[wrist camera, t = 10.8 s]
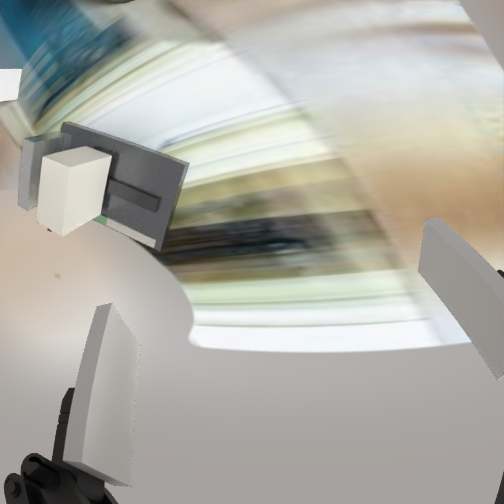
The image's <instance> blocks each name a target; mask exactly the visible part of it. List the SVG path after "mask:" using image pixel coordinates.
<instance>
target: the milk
mask: <svg viewBox="0 0 504 504" xmlns="http://www.w3.org/2000/svg"><path fill="white" fill-rule="evenodd" d="M21 72H22V69H0V101H9V100H17V99H18V92H19V85H20V78H21Z"/></svg>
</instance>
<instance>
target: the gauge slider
mask: <svg viewBox="0 0 504 504" xmlns="http://www.w3.org/2000/svg"><path fill="white" fill-rule="evenodd" d="M111 158H112V155H109V154H106V153H103V152H101V151H98V150H95V149H93V148H90V147H87V146H84V147H79V148H75V149H70V150H66V151H62V152H58V153H54V154H50V155H46V156H43V159H42V167H41V175H40V185H39V196H38V213H37V222H38V223H39V224H41V225H43V226H44V227H46V228H48V231H50V232H51V231H53V232H55V233H57V234H58V235H60V236H64V235H66V234H67V233H69V232H71V231H72V230H74V229H76V228H78V227H79V226H81V225H82V224H85V223H86V222H88V221H90V220H91V219H93V218H95V217H97V216H99V215H100V214H101V208H102V202H103V197H104V191H105V186H106V181H107V176H108V172H109V167H110V162H111Z"/></svg>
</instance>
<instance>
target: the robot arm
mask: <svg viewBox="0 0 504 504" xmlns="http://www.w3.org/2000/svg"><path fill="white" fill-rule="evenodd" d="M106 1H109V2H113V3H123V2H129V1H133V0H106ZM418 272H419V273H420V274H421V275H422V277H423V278H424V279H425V280H426V282H427V283H428V284H429V285H430V286H431V288H432V289H433V290H434V291H435V293H436V294H437V295H438V297H439V298H440V299H441V300H442V302H443V303H444V304H445V306H446V307H447V308H448V310H449V311H450V312H451V314H452V315H453V316H454V318H455V319H456V320H457V322H458V323H459V324H460V326H461V327H462V328H463V330H464V331H465V333H466V334H467V335H468V337H469V338H470V340H471V341H472V343H473V344H474V345H475V347H476V348H477V350H478V351H479V353H480V354H481V356H482V357H483V359H484V360H485V362H486V363H487V365H488V367H489V368H490V370H491V371H492V373H493V374H494V376H495V378H496V379H497V380H499V379H500V378H502V377H504V272H503V271H502V270H498V271H496V270H495V269H494V268H493V267H492V266H491V265H490V264H489V263H488V262H487V261H486V260H485V259H484V258H483V257H482V256H481V255H480V254H479V253H478V252H477V251H476V250H475V249H474V248H473V247H471V246H470V245H469V244H468V243H467V242H466V241H465V240H464V239H463V238H462V237H461V236H460V235H458V234H457V233H456V232H455V231H454V230H453V229H452V228H451V227H449V226H448V225H447V224H446V223H445V222H444V221H443V220H441V219H440V218H439V217H435V218H431V219H428V220H425V222H424V231H423V239H422V247H421V254H420V261H419V267H418ZM140 352H141V344H140V343H139V341H138V340H137V339H136V337H135V336H134V335H133V333H132V332H131V330H130V329H129V327H128V326H127V325H126V323H125V322H124V320H123V319H122V317H121V316H120V314H119V313H118V311H117V310H116V308H115V307H114V305H113V304H112V303H109V304H105V305H101V306H97V308H96V311H95V314H94V317H93V321H92V324H91V328H90V331H89V335H88V338H87V341H86V345H85V349H84V353H83V357H82V360H81V365H80V368H79V373H78V377H77V381H76V386H75V388H69V389H68V391H67V393H66V394H65V396H64V398H63V400H62V405H61V409H60V413H61V414H60V415H59V420H58V422H59V424H58V425H57V430H56V436H55V442H54V449H53V456H52V461H50V460H48V459H46V458H44V457H43V456H41V455H39V454H38V453H31V454H30V455H28V456H26V458H25V459H24V460H23V463H22V465H21V476H20V475H18V474H16V473H12V474H10V475H8V476H7V478H6V480H5V483H4V493H5V498H6V503H7V504H118V503H117V501H116V500H115V499H114V497H113V496H112V495H111V493H110V492H109V491H108V490H107V489H106V488H105V487H104V482H107V483H109V484H111V485H114V486H130V487H132V457H133V432H134V415H135V402H136V390H137V380H138V369H139V360H140ZM495 504H504V472H503V477H502V480H501V484H500V487H499V491H498V494H497V498H496V501H495Z"/></svg>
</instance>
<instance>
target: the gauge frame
mask: <svg viewBox="0 0 504 504" xmlns="http://www.w3.org/2000/svg"><path fill="white" fill-rule="evenodd" d="M84 146H87V147H90V148H93V149H95V150H98V151H101V152H103V153H106V154H109V155H112V158H111V162H110V167H109V172H108V176H107V181H106V186H105V191H104V197H103V202H102V208H101V214H100V215H99V216H97V217H95V218H93V220H95V221H97V222H99V223H101V224H103V225H105V226H107V227H109V228H111V229H113V230H116V231H117V232H120V233H122V234H124V235H126V236H128V237H130V238H132V239H134V240H136V241H139V242H141V243H143V244H145V245H147V246H149V247H152V248H154V249H156V250H158V251H161V250H162V249H163V248H164V247H165V243H166V240H167V236H168V232H169V229H170V225H171V222H172V218H173V215H174V211H175V208H176V205H177V201H178V198H179V195H180V192H181V188H182V185H183V182H184V179H185V176H186V173H187V170H188V167H189V164H190V163H187V162H185V161H182V160H179V159H177V158H174V157H171V156H169V155H166V154H163V153H161V152H158V151H155V150H152V149H150V148H147V147H144V146H141V145H138V144H135V143H133V142H130V141H127V140H124V139H121V138H118V137H115V136H112V135H109V134H106V133H103V132H100V131H97V130H94V129H91V128H88V127H85V126H81V125H78V124H75V123H72V122H63V124H62V129H61V132H56V133H50V134H45V135H39V136H34V137H29V138H25V139H24V141H23V149H22V157H21V166H20V178H19V193H18V205H19V206H20V207H22V208H24V209H26V210H27V211H28V210H30V209H32V208H35V207H37V206H38V196H39V185H40V175H41V167H42V159H43V156H46V155H50V154H54V153H58V152H62V151H66V150H70V149H75V148H79V147H84Z"/></svg>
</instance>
